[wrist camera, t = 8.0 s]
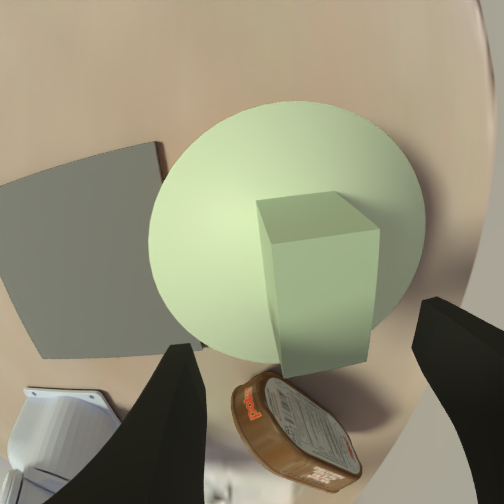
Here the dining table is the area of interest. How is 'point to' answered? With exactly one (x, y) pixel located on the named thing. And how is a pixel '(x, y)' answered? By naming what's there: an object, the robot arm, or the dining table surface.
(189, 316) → the lid
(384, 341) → the dining table surface
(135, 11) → the dining table surface
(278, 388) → the tin
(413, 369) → the dining table surface
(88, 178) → the mat
